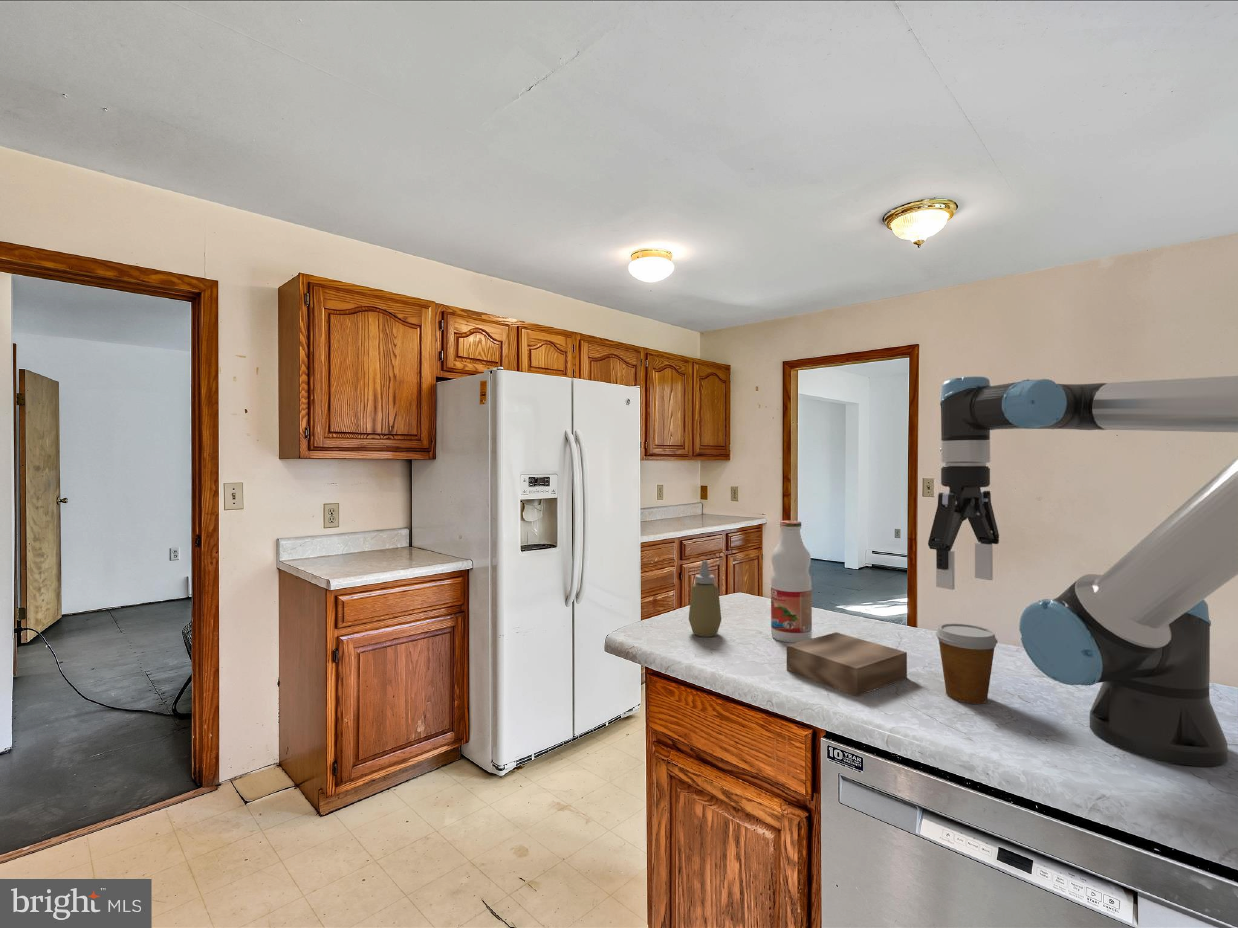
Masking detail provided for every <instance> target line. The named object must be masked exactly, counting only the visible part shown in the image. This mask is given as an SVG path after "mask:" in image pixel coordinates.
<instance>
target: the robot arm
mask: <svg viewBox="0 0 1238 928" xmlns="http://www.w3.org/2000/svg"><path fill="white" fill-rule="evenodd" d="M939 406H940V421H941V422H940V431H941V433H940V435H941V436H940V437H941V438H940V442H941V446H940V448H939V451H940V453H941V457H940V458H941V461H940V462H942V464H944V466H941V468H940V484H941V486H943V487H946V488H947V487H948V488H949V491H948V492H938V495H937V507H936V510H935V514H934V519H933V522H932V527H931V531H930V534H929V538H928V541H927V544H928V547H929V548H928V549H930V550H935V554H936V555H935V556H936V557H935V558H936V559H935V564H936V565H935V566H936V567H935V568H936V570H935V575H936V576H935V577H936V578H935V580H936V581H935V583H936V584H935V587H936V588H940V589H946V590H955V585H956V584H955V576H956V575H955V551H954V550H952V549H953V547H954V544H955V541H956V540H957V539H956V538H957V536H958V534H959V531H960V529H961V526H962V524H963V522H964V521H966V520H968V522H969V525H970V527H971V530H972V531H973V533H974V535H975V538H976V540H977V542H974V579H981V580H985V581H993V578H994V577H993V575H994V574H993V570H994V569H993V559H994V558H993V557H994V556H993V545H999V543H1000V539H999V538H1000V533H999V530H998V525H997V522H996V517H995V513H994V509H993V505H992V499H991V498H992V496H991V495H992V494H991V491H990V490H981V488H987V487H990V485H991V468H990V467H989V466H988V465H987V463H988V464H989V463H990V462H991V431H993V430H996V431H997V430H1021V429H1024V430H1026V429H1027V430H1035V429H1036V430H1077V431H1096V430H1097V431H1105V430H1109V431H1151V432H1152V431H1153V432H1154V431H1155V432H1192V433H1193V432H1195V433H1196V432H1199V433H1202V432H1203V433H1205V432H1206V433H1238V375H1227V376H1211V377H1210V376H1208V377H1206V376H1205V377H1194V378H1193V377H1192V378H1191V377H1190V378H1188V377H1187V378H1175V379H1158V380H1137V381H1122V382H1121V381H1118V382H1099V383H1098V382H1097V383H1096V382H1095V383H1080V384H1079V383H1078V384H1077V383H1056V382H1055V381H1054V380H1053V379H1050V378H1049V379H1048V378H1047V379H1046V378H1039V379H1029V378H1028V379H1022V380H1021V381H1015V382H1010V383H1009V382H1008V383H1003V384H997V385H991V382H990V379H989V378H988V377H987V376H986V377H985V376H962V377H954V378H949V379H946V380H945V381H944V382H943V383H942V385H941V396H940V401H939ZM1236 576H1238V456H1236V457H1235V458H1233V460H1232V461H1231V462H1230V463H1228V464H1227V465H1226V466H1225V467H1223V468H1222V469H1221V470H1220V471H1219V472H1218V473H1217V474H1215V475H1214V476H1213V477H1212V478H1211V479H1210V480H1209V481H1208V482H1206V484H1204V485H1203V486H1202V487H1201V488H1200V489H1198V491H1196V492H1195V493H1194V494H1193V495H1192V496H1191V497H1190V498H1188V499H1187V500H1186V501H1185V502H1183V504H1181V505H1180V506H1179V507H1178V508H1177V509H1176V510H1175V511H1173V513H1171V514H1170V515H1169V516H1168V517H1167V518H1166V519H1164V521H1162V522H1161V523H1160V524H1159V525H1158V526H1157V527H1155V528H1154V529H1153V530H1152V531H1151V532H1149V533H1148V535H1147V536H1145V537H1144V538H1143V539H1142V540H1141V541H1140V542H1138V543H1137V544H1136V545H1135V546H1134V547H1132V548H1131V549H1130V550H1129V551H1128V552H1126V553H1125V555H1124V556H1122V557H1121V558H1120V559H1119V560H1117V562H1115V563H1114V564H1113V565H1112V566H1111V567H1110V568H1108V570H1107V571H1105V572H1104V573H1103V574H1097V573H1095V574H1093V573H1089V574H1085V575H1082V576H1080V577H1079V578H1078V579H1077V580H1075V581H1074V582H1073V583H1072V584H1071V585H1070V586H1068V587H1067V588H1066V589H1065V590H1064V591H1063V592H1062V593H1061V594H1060V595H1059V596H1057V597H1055V598H1053V599H1047V598H1046V599H1045V598H1044V599H1041V600H1038V601H1035V602H1032V603H1031V604H1029V605H1028V606H1026V608H1024V610H1023V611H1022V614H1021V616H1020V618H1019V625H1018V626H1019V627H1018V629H1019V633H1020V636H1021V637H1020V640H1021V644H1022V646H1023V648H1024V651H1025V653H1026V655H1027V656H1028V658H1029V659H1030V661H1031V662H1032V664H1033V665H1034V666H1035V667H1036V668H1037V669H1038V670H1039V671H1040V672H1041V673H1043V674H1044V675H1045V676H1046V677H1048V678H1050V680H1053V681H1054V682H1058V683H1060V684H1063V685H1068V686H1086V687H1087V686H1094V685H1096V684H1098V683H1102V684H1101V686H1100V688H1099V690H1098V693H1097V695H1096V696H1095V698H1094V702H1093V703H1092V706H1091V709H1090V711H1089V729H1090V730H1091V732H1092V733H1093V734H1095V735H1096V736H1097V737H1099V738H1100V739H1102V740H1104V741H1105V742H1107V743H1109V744H1110V745H1113V746H1115V747H1117V748H1120V749H1122V750H1125V751H1128V752H1130V753H1133V754H1136V755H1139V756H1142V757H1146V758H1149V759H1153V760H1156V761H1157V760H1158V761H1161V762H1166V763H1171V764H1177V765H1183V766H1184V765H1185V766H1192V767H1193V766H1194V767H1214V766H1216V767H1217V766H1220V765H1223V764H1225V763H1226V762H1227V761H1228V758H1229V756H1228V742H1227V738H1226V736H1225V734H1224V731H1223V729H1222V726H1221V724H1220V722H1219V719H1218V717H1217V715H1216V712H1215V710H1214V708H1213V706H1212V703H1211V699H1210V681H1211V680H1210V679H1211V678H1210V676H1211V675H1210V668H1211V667H1210V665H1211V664H1210V663H1211V662H1210V661H1211V660H1210V652H1211V651H1210V650H1211V649H1210V647H1211V646H1210V645H1211V644H1210V642H1211V641H1210V640H1211V639H1210V638H1211V637H1210V635H1211V634H1210V633H1211V631H1210V630H1211V626H1212V621H1211V620H1210V614H1209V612H1210V611H1209V605H1208V603H1207V601H1205V599H1206V598H1207V597H1209V596H1210V595H1212V594H1213V593H1214V592H1216V591H1217V590H1218V589H1220V588H1221V587H1223V586H1224V585H1225V584H1227V583H1229V581H1231V580H1232V579H1234V578H1235V577H1236Z"/></svg>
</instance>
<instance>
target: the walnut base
mask: <svg viewBox="0 0 1238 928" xmlns="http://www.w3.org/2000/svg"><path fill="white" fill-rule="evenodd" d="M786 671H789V672H791V673H794V674H796V675H799V676H801V677H805V678H807V679H810V680H813V681H815V682H818V683H821V684H823V685H825V686H828V687H832V688H834V689H837V690H839V691H841V692H845V693H847V694H849V695H852V696H855V697H859V696H862V695H864V694H867V693H869V692H868V691H870V692H872V690H873V691H875V690H878V689H880V687H881V688H884V687H886V686H888V685H891V684H894V683H897V682H900V681H903V680H904V679H907V678H908V651H904V650H902V649H901V650H900V649H897V648H893V647H890V646H887V645H882V644H879V643H876V642H872V641H868V640H865V639H861V638H858V637H855V636H851V635H847V634H844V633H840V632H833V633H829V634H825V635H820V636H817V637H813V638H811V639H809V640H805V641H801V642H797V643H790V644H787V645H786ZM877 688H878V689H877ZM874 689H875V690H874ZM861 694H862V695H861Z"/></svg>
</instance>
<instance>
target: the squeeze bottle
mask: <svg viewBox="0 0 1238 928" xmlns="http://www.w3.org/2000/svg"><path fill="white" fill-rule="evenodd" d="M709 568H710V567H709V562H708V560H702V561H701V566H700V571H699V574H696V575H695V580H694V581H695V583H693V584H692V585H691V589H690V590H691V591H690V599H689V600H690V602H689V610H688V611H689V612H688V621H689V622H688V623H690V624H689V625H690V627H691V631H692V634H694V635H695V636H699V637H706V638H707V637H714V636H716V635H718V633H719V629H720V626H721V623H722V613H721V611H722V610H721V603H720V602H721V600H720V593H719V586H718V585H717V584H716V583H715V575H714V574H711V573H710V569H709Z"/></svg>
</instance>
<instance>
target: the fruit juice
mask: <svg viewBox="0 0 1238 928" xmlns="http://www.w3.org/2000/svg"><path fill="white" fill-rule="evenodd" d="M779 526H780V529H781V530H780V531H781V532H780V537H779V540H778V543H777V545H776V546H775V547H774V549H773V550H772V553H771V556H770V557H771V558H770V560H771V564H772V568H773V570H772V573H771V577H770V633H771V636H772V638H773V639H774V640H777V641H779V642H784V643H788V644H789V643H790V644H794V643H797V642H801V641H805V640H809V639H812V635H813V634H812V633H813V631H812V630H813V625H812V624H813V623H812V622H813V619H812V618H813V617H812V613H813V609H812V607H813V606H812V605H813V603H812V599H813V597H812V595H813V593H812V591H813V590H812V589H813V587H812V577H811V574H810V566H811V563H812V562H811V560H812V559H811V558H812V557H811V554H810V552H809V550H808V549H807V548H806V546H805V544H804V542H803V538H802V536H801V529H802V521H800V520H781V521H780V522H779Z"/></svg>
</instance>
